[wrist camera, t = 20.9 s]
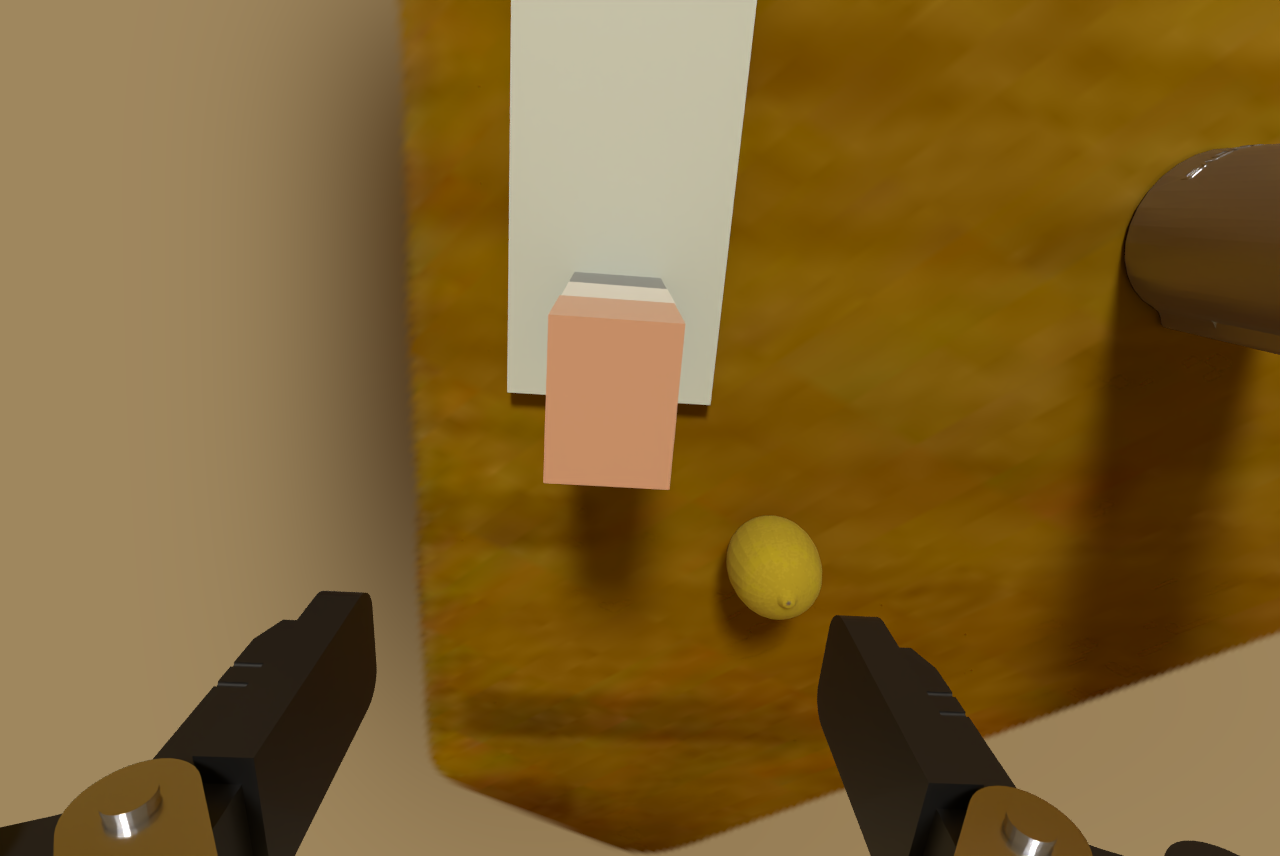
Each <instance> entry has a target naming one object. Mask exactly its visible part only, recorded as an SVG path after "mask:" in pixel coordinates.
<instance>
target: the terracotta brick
mask: <svg viewBox="0 0 1280 856" xmlns="http://www.w3.org/2000/svg"><path fill="white" fill-rule="evenodd" d="M684 334H685V322H684V320H683V318H682V316H681V315H680V313H679V311H678V309H677V307H676V305H675V303H665V302H651V301H636V300H622V299H608V298H594V297H579V296H565V295H559V297H558V299H557V301H556V302H555V304H554V306H553V307H552V309H551V311H550V312H549V314H548V341H547V375H546V410H545V445H544V480H543V483H553V484H571V485H589V486H608V487H626V488H644V489H662V490H669V488H670V478H671V467H672V457H673V447H674V436H675V426H676V416H677V406H678V395H679V385H680V375H681V364H682V354H683V344H684Z"/></svg>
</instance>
